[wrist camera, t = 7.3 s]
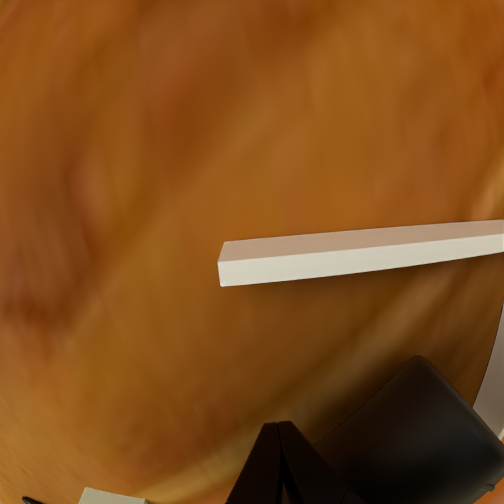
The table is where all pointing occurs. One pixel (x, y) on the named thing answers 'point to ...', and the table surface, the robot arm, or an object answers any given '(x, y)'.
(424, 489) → the end cap
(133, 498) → the block
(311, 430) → the table surface
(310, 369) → the table surface
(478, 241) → the white u-shaped frame
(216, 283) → the table surface
